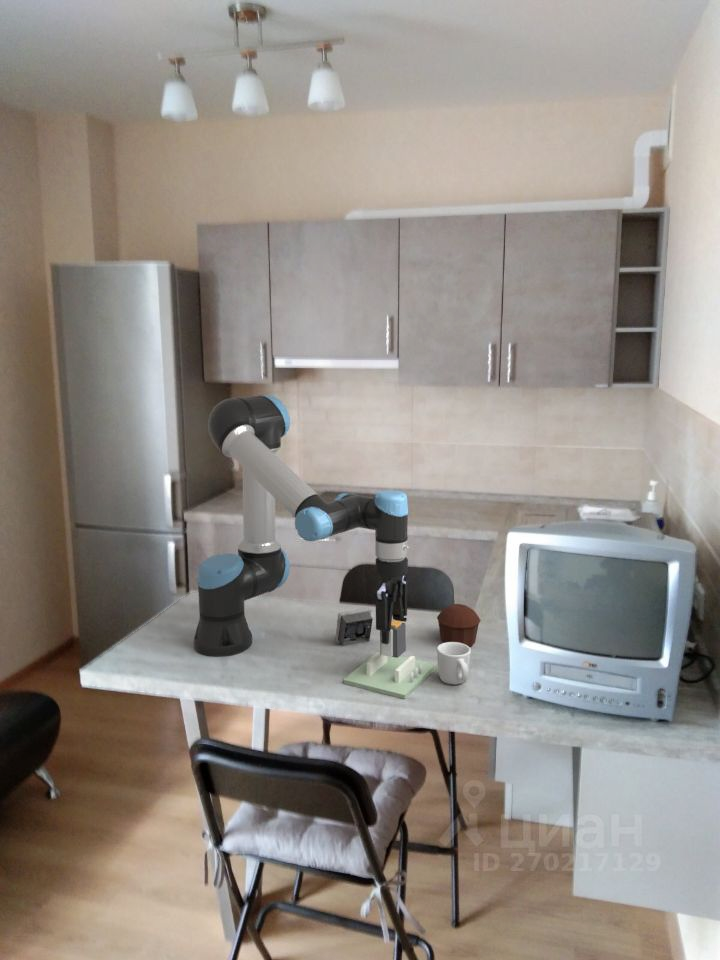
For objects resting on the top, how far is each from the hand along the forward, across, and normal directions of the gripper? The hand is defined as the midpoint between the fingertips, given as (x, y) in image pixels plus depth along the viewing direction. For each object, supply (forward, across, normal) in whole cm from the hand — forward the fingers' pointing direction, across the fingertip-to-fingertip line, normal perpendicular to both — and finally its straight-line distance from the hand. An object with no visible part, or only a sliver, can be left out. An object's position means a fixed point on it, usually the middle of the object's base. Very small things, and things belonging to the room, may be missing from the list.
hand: (391, 651), depth 179 cm
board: (+6, 0, 0) cm, 6 cm away
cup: (+7, +4, -15) cm, 17 cm away
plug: (0, 0, 0) cm, 0 cm away
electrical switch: (+6, +13, +17) cm, 23 cm away
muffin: (+7, +26, -7) cm, 28 cm away
